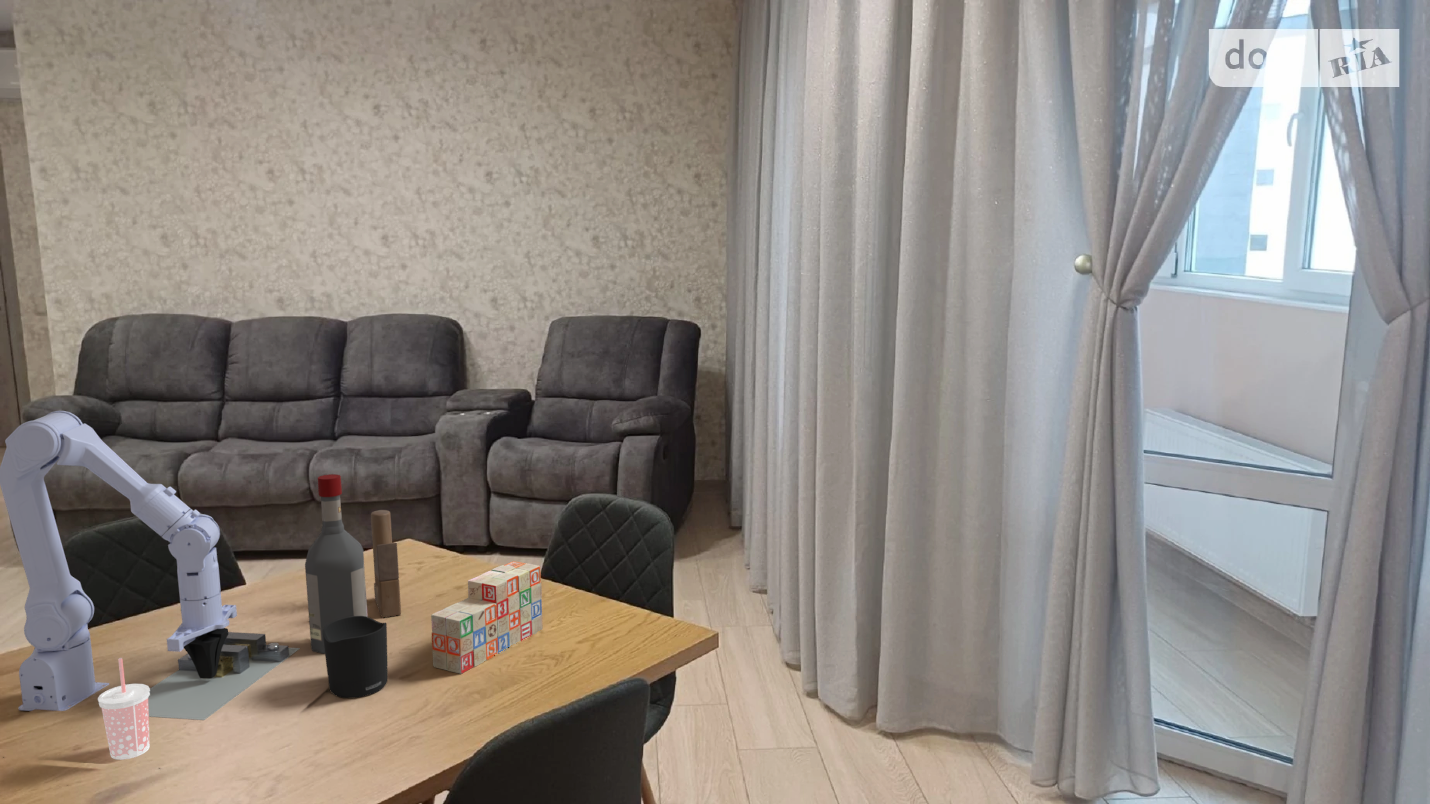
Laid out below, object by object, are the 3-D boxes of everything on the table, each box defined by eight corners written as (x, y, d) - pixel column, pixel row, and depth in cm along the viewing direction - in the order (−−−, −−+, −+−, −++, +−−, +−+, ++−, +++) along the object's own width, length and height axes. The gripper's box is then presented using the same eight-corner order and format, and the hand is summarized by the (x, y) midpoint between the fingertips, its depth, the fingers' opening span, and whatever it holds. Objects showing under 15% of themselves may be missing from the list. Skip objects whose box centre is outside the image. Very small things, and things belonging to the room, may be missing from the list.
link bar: (222, 677, 162) (221, 664, 161) (205, 676, 162) (203, 663, 162) (262, 649, 172) (260, 637, 172) (245, 648, 173) (244, 636, 172)
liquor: (369, 632, 181) (358, 468, 176) (368, 651, 173) (357, 480, 168) (314, 638, 178) (302, 472, 174) (310, 658, 170) (297, 485, 165)
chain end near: (240, 673, 163) (238, 652, 162) (178, 670, 164) (176, 648, 164) (249, 667, 165) (247, 645, 165) (188, 663, 167) (186, 642, 166)
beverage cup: (145, 739, 143) (135, 645, 141) (163, 753, 139) (153, 657, 137) (97, 756, 138) (86, 659, 136) (115, 771, 135) (104, 672, 132)
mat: (204, 723, 147) (204, 719, 147) (111, 717, 150) (110, 713, 149) (300, 651, 173) (300, 648, 173) (219, 647, 175) (219, 643, 175)
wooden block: (381, 618, 188) (375, 525, 185) (374, 600, 197) (369, 510, 194) (401, 615, 189) (396, 522, 186) (394, 597, 199) (388, 508, 196)
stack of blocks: (461, 675, 163) (458, 603, 161) (432, 668, 166) (428, 596, 164) (543, 630, 182) (541, 564, 180) (515, 624, 185) (513, 559, 183)
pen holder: (324, 703, 154) (319, 641, 152) (330, 677, 163) (325, 618, 161) (389, 696, 156) (385, 634, 154) (391, 670, 165) (387, 612, 163)
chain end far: (280, 662, 167) (279, 641, 167) (220, 658, 169) (218, 637, 168) (289, 656, 170) (287, 635, 169) (229, 652, 171) (227, 631, 170)
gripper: (194, 612, 150) (202, 698, 152) (251, 579, 164) (257, 658, 167) (150, 610, 151) (159, 695, 153) (211, 578, 165) (218, 656, 168)
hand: (207, 676), depth 160 cm, fingers closed
